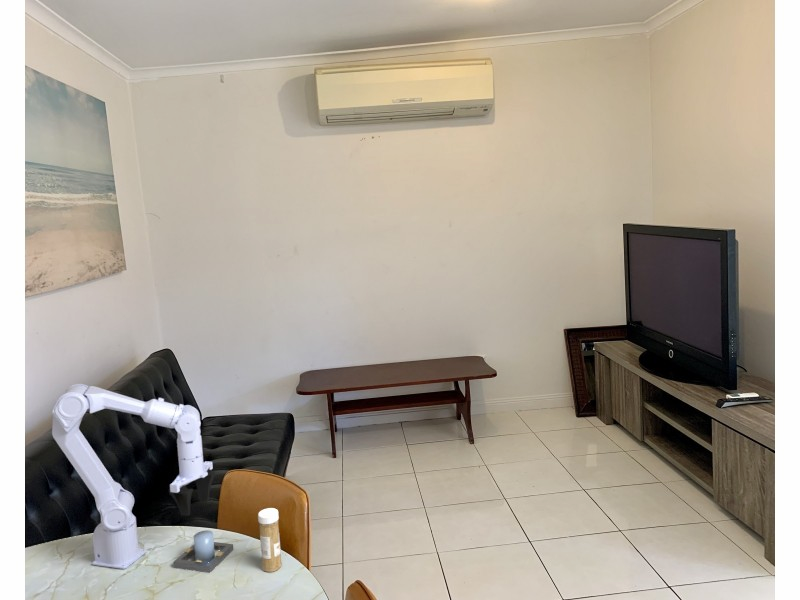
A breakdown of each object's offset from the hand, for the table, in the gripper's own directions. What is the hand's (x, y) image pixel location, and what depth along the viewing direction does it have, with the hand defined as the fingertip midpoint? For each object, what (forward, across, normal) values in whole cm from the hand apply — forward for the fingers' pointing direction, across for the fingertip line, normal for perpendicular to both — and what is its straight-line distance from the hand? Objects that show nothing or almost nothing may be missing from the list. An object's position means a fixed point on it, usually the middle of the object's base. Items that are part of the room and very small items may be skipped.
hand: (194, 507), depth 142 cm
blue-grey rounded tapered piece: (+9, -6, -6) cm, 13 cm away
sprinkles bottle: (+10, -6, -24) cm, 27 cm away
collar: (+9, -6, -6) cm, 13 cm away
